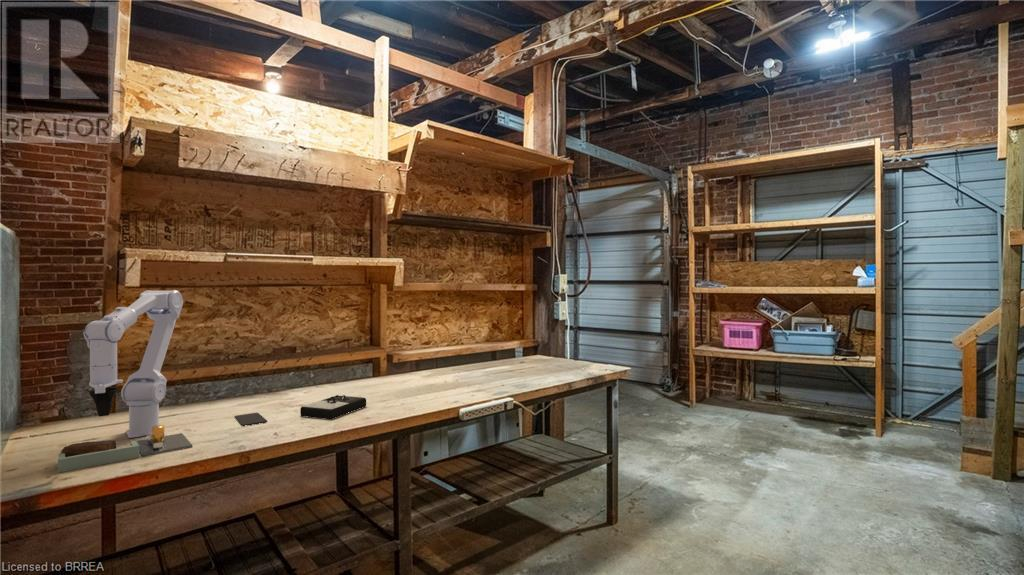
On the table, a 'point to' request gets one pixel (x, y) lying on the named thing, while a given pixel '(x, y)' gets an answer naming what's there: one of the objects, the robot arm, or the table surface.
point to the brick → (88, 447)
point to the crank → (156, 436)
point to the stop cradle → (97, 457)
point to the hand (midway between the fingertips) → (104, 415)
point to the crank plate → (164, 445)
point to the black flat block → (333, 407)
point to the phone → (250, 419)
